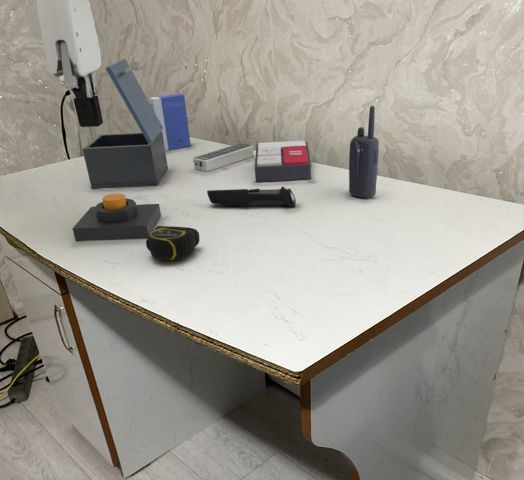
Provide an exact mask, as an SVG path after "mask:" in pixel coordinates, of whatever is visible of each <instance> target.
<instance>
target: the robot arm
mask: <svg viewBox="0 0 524 480" xmlns="http://www.w3.org/2000/svg"><path fill="white" fill-rule="evenodd" d="M36 6H37V17H38V22H39V28H40V33H41V39H42V43H43V49H44V53H45V59H46V63H47V67H48V71H49V74H50V75H51V76H52V77H53V78H60V77H63V81H64V87H65V88H67V89H69V91H70V95H71V98H72V100H73V103H74V107H75V112H76V117H77V122H78V125H79V127H81V128H92V127H100V126H101V125H103V124H104V120H103V119H104V118H103V114H102V110H101V105H100V99H99V95H98V86H97V80H96V79H97V75H98V73H97V71H98V69H100V68H101V66H102V55H101V49H100V43H99V39H98V38H99V37H98V34H97V28H96V25H95V20H94V16H93V12H92V7H91V4H90V0H36Z"/></svg>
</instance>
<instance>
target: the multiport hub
mask: <svg viewBox="0 0 524 480" xmlns="http://www.w3.org/2000/svg"><path fill="white" fill-rule="evenodd" d="M253 157H254V145H253V144H246V143H242V142H239V143H236V144H232V145H230V146H226V147H223V148H220V149H217V150H213V151H211V152H207V153H204V154H200V155H197V156H194V157H193V158H192V159H193V169H194V170H198V171H201V172H206V173H207V172H211V171H214V170H217V169H220V168H223V167H226V166H229V165H231V164H235V163H237V162H241V161H244V160H247V159H250V158H253Z"/></svg>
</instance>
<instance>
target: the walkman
mask: <svg viewBox="0 0 524 480" xmlns="http://www.w3.org/2000/svg"><path fill="white" fill-rule="evenodd" d="M149 100H150V105H151V106H152V108H153V110H154V112H155V114H156V116H157V117H158V119H159V121H160V123H161V125H162V127H163V129H162V131H161V132H162V133H163V140H164V146H165V152H166V151H171V150H177V149H182V148H188V147H191V146H192V144H191V136H190V130H189V128H190V127H189V121H188V113H187V106H186V98H185V94H183V93H178V92H172V93H171V94H166V95H161V96H153V97H150V98H149Z"/></svg>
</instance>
